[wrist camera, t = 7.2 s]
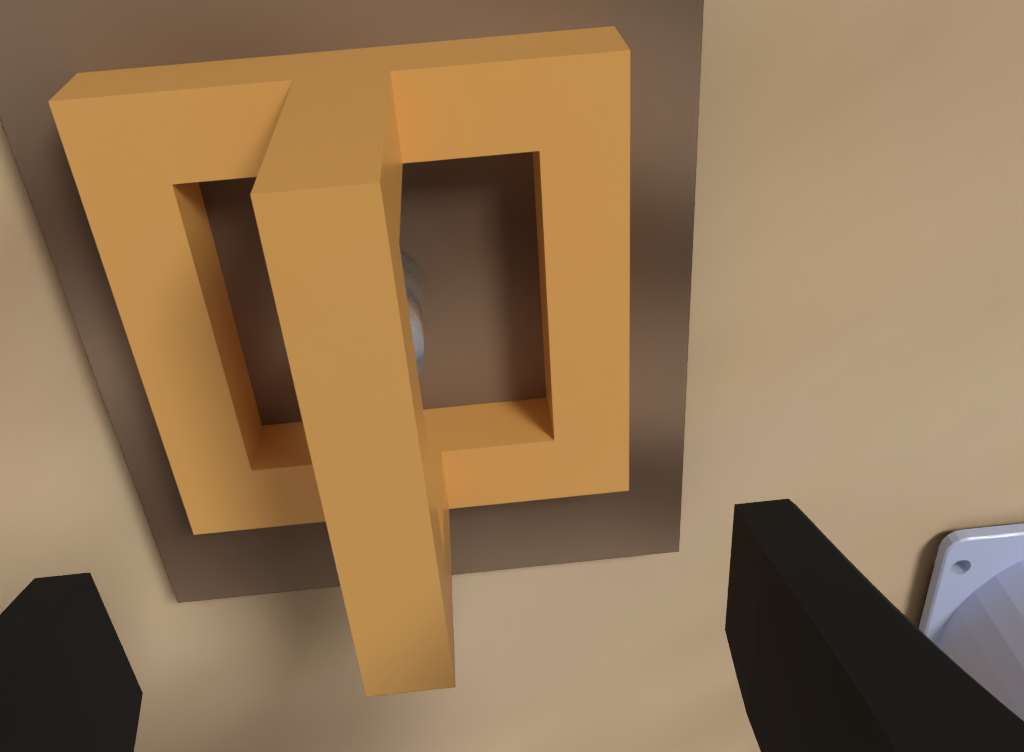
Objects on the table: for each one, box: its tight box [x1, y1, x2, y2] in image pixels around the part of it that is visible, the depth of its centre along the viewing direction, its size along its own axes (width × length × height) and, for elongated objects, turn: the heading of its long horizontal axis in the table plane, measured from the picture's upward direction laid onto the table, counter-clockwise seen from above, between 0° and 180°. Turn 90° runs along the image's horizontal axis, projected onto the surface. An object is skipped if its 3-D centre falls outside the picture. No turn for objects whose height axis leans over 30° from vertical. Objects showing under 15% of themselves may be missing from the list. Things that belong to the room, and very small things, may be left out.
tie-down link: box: [48, 26, 630, 697], centre depth 16 cm, size 9×9×6 cm
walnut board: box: [0, 0, 704, 603], centre depth 18 cm, size 18×12×1 cm, turn 4°
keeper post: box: [400, 249, 424, 374], centre depth 18 cm, size 2×2×3 cm
